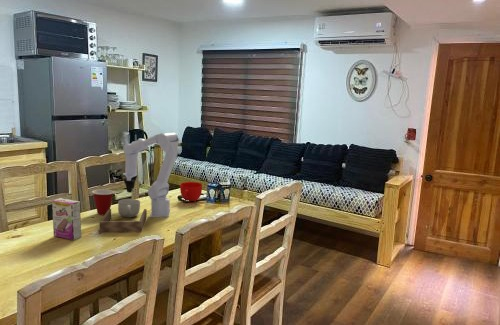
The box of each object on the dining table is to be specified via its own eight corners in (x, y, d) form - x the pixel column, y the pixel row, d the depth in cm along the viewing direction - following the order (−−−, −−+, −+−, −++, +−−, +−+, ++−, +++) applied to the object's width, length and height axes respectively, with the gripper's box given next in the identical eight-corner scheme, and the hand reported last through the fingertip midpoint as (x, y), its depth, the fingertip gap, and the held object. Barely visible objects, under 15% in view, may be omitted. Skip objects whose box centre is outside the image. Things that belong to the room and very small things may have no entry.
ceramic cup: (174, 204, 222) (174, 187, 221) (184, 197, 239) (184, 181, 237) (196, 206, 220) (196, 189, 219) (204, 198, 237) (204, 182, 235)
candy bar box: (52, 236, 169) (50, 200, 166) (61, 233, 174) (60, 197, 171) (73, 241, 166) (71, 203, 163) (82, 237, 170) (80, 200, 167)
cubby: (146, 218, 197) (146, 209, 196) (141, 232, 179) (141, 221, 178) (108, 218, 195) (108, 209, 194) (99, 232, 176) (99, 222, 175)
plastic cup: (119, 212, 205) (118, 190, 202) (102, 218, 196) (101, 194, 193) (105, 208, 210) (105, 187, 208) (88, 213, 201) (87, 191, 199)
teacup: (121, 212, 205) (120, 197, 204) (142, 212, 206) (142, 198, 205) (114, 221, 192) (114, 205, 190) (137, 221, 193) (136, 205, 191)
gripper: (125, 162, 214) (125, 186, 217) (120, 168, 200) (120, 193, 203) (138, 163, 215) (138, 186, 218) (135, 169, 201) (134, 194, 204)
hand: (130, 190), depth 211 cm, fingers open, 7 cm apart
